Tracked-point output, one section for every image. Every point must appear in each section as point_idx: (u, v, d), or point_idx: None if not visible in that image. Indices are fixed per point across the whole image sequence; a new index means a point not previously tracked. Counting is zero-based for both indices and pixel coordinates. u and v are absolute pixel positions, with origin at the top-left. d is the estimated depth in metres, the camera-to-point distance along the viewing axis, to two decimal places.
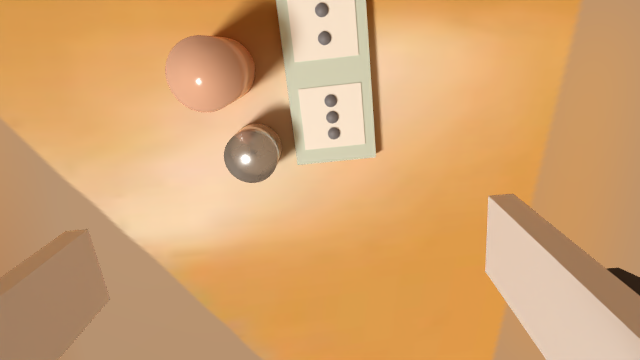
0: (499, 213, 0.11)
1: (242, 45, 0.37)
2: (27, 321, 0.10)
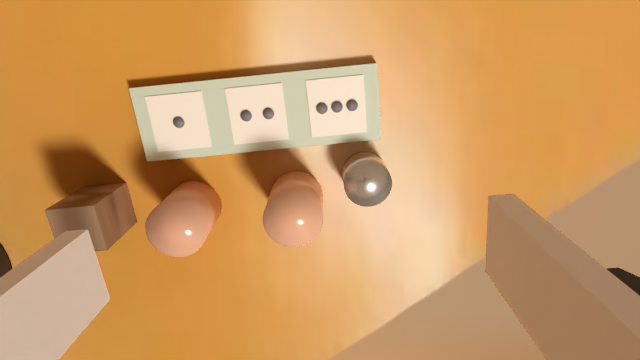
0: (499, 213, 0.11)
1: (277, 180, 0.45)
2: (27, 321, 0.10)
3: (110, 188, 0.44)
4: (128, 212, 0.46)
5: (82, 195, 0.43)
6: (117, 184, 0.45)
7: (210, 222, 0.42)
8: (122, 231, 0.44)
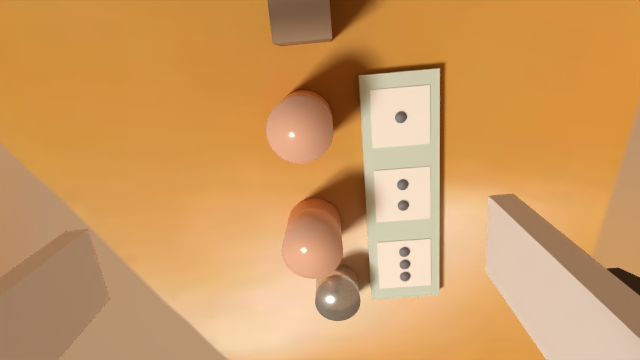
0: (499, 213, 0.11)
1: (332, 206, 0.44)
2: (27, 321, 0.10)
3: None
4: None
5: None
6: None
7: None
8: (281, 44, 0.36)
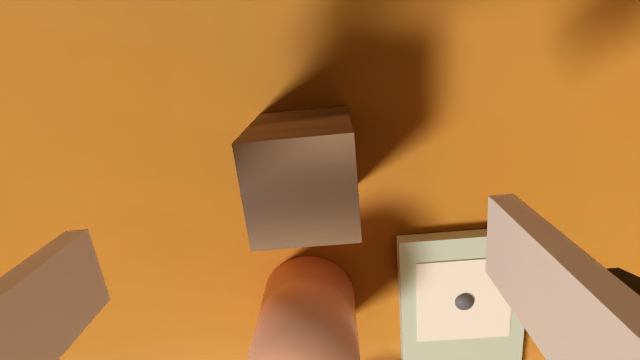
0: (499, 213, 0.11)
1: None
2: (27, 321, 0.10)
3: None
4: None
5: None
6: None
7: None
8: None
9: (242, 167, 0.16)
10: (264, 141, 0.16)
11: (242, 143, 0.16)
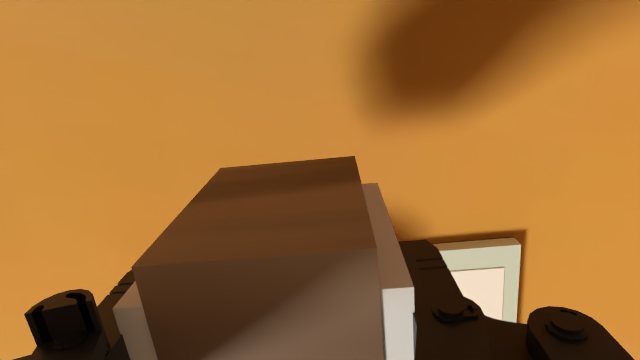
0: None
1: None
2: None
3: None
4: None
5: None
6: None
7: None
8: None
9: (156, 308, 0.08)
10: (196, 262, 0.08)
11: (153, 265, 0.08)
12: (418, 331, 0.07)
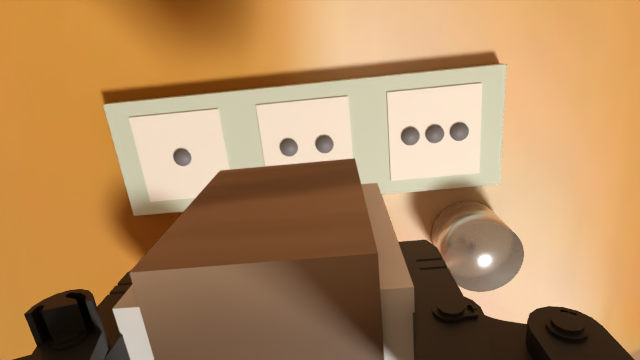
0: None
1: None
2: None
3: None
4: None
5: None
6: None
7: None
8: None
9: (154, 314, 0.08)
10: (195, 268, 0.08)
11: (151, 271, 0.08)
12: (418, 331, 0.07)
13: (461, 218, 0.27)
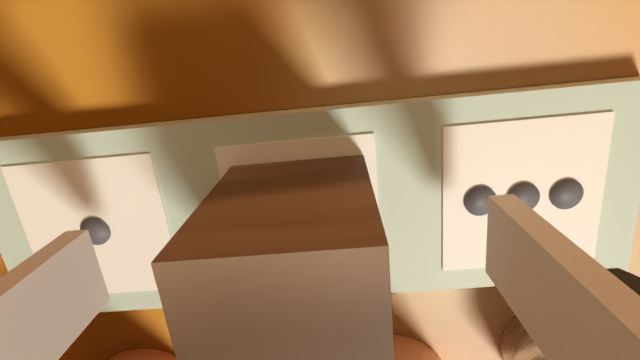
0: (499, 213, 0.11)
1: None
2: (27, 321, 0.10)
3: None
4: None
5: None
6: None
7: None
8: None
9: (173, 303, 0.09)
10: (213, 259, 0.08)
11: (171, 262, 0.08)
12: None
13: None
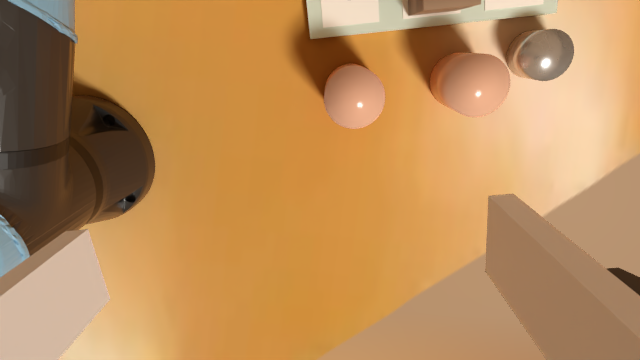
0: (499, 213, 0.11)
1: None
2: (27, 321, 0.10)
3: None
4: None
5: None
6: None
7: None
8: None
9: None
10: None
11: None
12: None
13: (531, 33, 0.41)
